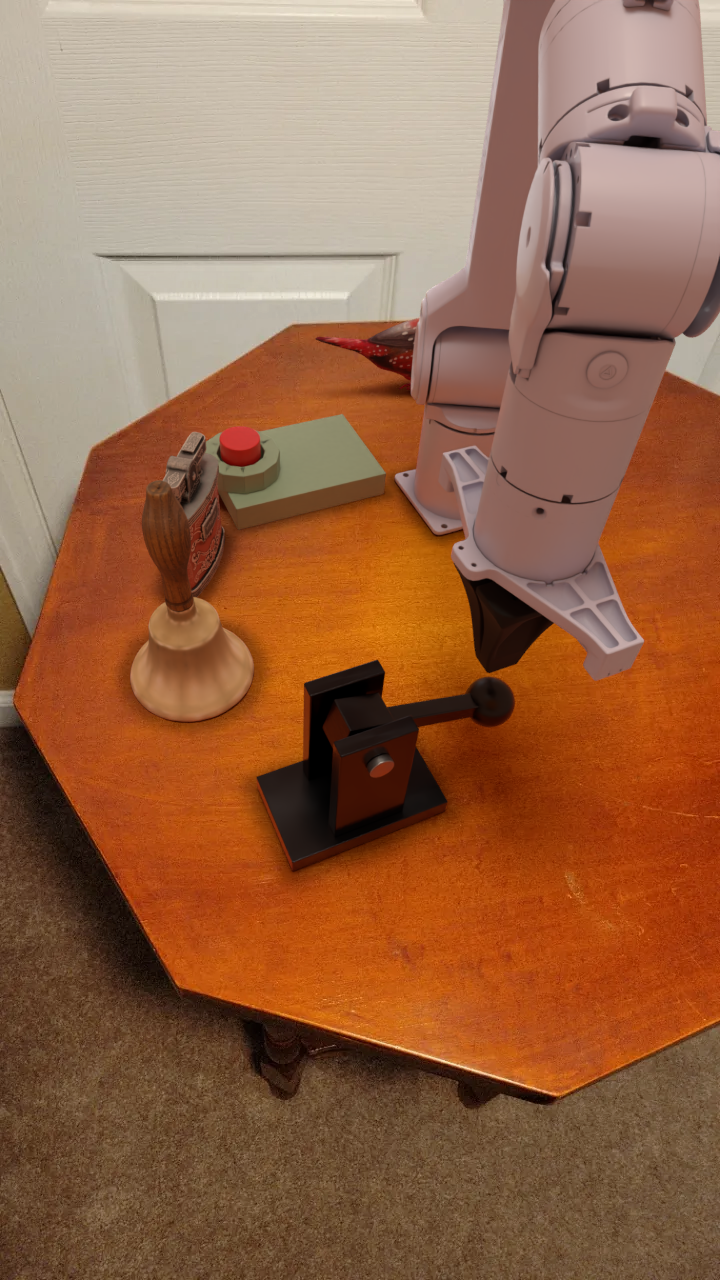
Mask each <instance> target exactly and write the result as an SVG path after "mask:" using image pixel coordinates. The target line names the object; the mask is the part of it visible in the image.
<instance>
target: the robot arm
mask: <svg viewBox="0 0 720 1280" xmlns="http://www.w3.org/2000/svg"><path fill="white" fill-rule="evenodd" d="M699 1H700V0H503V1H502V2H503V7H502V13H501V21H500V26H499V27H500V28H499V34H498V42H497V49H496V53H495V54H496V55H495V62H494V69H493V76H492V83H491V90H490V96H489V103H488V110H487V116H486V123H485V130H484V138H483V143H482V150H481V157H480V164H479V170H478V178H477V186H476V192H475V199H474V204H473V205H474V206H473V212H472V218H471V219H472V220H471V226H470V233H469V240H468V246H467V252H466V259H465V265H464V266H463V267H462V268H461V269H460V270H458V271H457V272H455V273H453V274H452V275H451V276H450V275H449V277H447V278H446V279H444V280H442V281H440V282H438V283H437V284H435V285H433V286H432V287H430V288H429V289H428V290H427V291H426V292H425V296H424V297H423V298H422V299H421V303H420V311H419V317H418V318H419V322H418V323H417V327H416V333H415V340H414V349H413V360H412V372H411V381H410V383H411V386H410V387H411V389H410V396H411V398H413V400H414V401H415V403H416V405H419V406H424V410H423V417H422V424H421V429H420V430H421V431H420V438H419V445H418V452H417V459H416V466H415V468H414V469H410V470H406V471H402V472H398V473H396V474H395V475H394V481H395V483H396V484H397V486H398V487H399V488H400V490H401V491H402V492H403V494H404V495H405V497H406V498H407V499H408V501H409V502H410V503H411V504H412V506H413V507H414V509H415V510H416V512H417V513H418V514H419V516H420V517H421V518H422V520H423V521H424V522H425V524H426V525H427V526H428V528H429V530H430V531H431V532H432V533H433V534H434V535H437V536H443V535H445V534H450V533H452V532H453V533H454V532H457V531H459V530H460V531H461V530H463V534H464V539H462V540H460V541H457V542H455V543H454V544H453V545H452V548H451V554H450V558H451V560H452V562H453V564H454V567H455V569H456V571H457V573H458V575H459V578H460V580H461V582H462V585H463V588H464V591H465V594H466V598H467V601H468V607H469V610H470V611H469V612H470V617H471V618H470V619H471V626H472V638H473V647H474V654H475V658H476V660H478V662H479V663H480V665H481V666H482V667H483V669H484V670H485V672H486V673H487V674H491V673H494V672H497V671H501V670H503V669H506V668H509V667H512V666H515V665H517V664H518V663H519V661H520V660H521V659H522V657H524V655H525V654H526V652H527V651H528V650H529V649H530V648H531V646H532V645H533V644H534V643H535V642H536V641H537V639H538V638H540V636H541V635H542V634H544V633H545V632H546V631H547V630H548V629H549V628H550V627H552V626H553V625H554V624H555V625H556V626H558V627H559V628H560V629H561V630H563V631H565V632H566V633H568V634H569V635H570V636H572V637H573V638H574V639H576V640H577V642H578V643H579V644H580V645H581V647H582V648H583V649H584V651H585V652H586V656H585V658H584V661H583V664H582V666H583V668H584V670H585V672H587V674H588V675H589V676H590V677H591V679H592V680H593V681H596V682H597V681H600V680H602V679H605V678H609V677H612V676H615V675H617V674H620V673H622V672H624V671H628V670H630V669H632V666H633V665H634V663H635V661H636V658H637V657H638V655H639V653H640V651H641V650H642V647H643V645H644V644H645V639H644V638H643V637H642V635H641V634H640V633H639V632H638V630H637V629H636V628H635V626H634V625H633V623H632V622H631V620H630V618H629V617H628V614H627V612H626V610H625V608H624V606H623V602H622V600H621V598H620V595H619V592H618V589H617V587H616V585H615V582H614V579H613V577H612V574H611V571H610V569H609V567H608V564H607V562H606V558H605V556H604V553H603V551H602V548H601V546H600V543H599V542H600V539H601V537H602V535H603V532H604V530H605V527H606V524H607V521H608V519H609V517H610V514H611V511H612V509H613V506H614V504H615V501H616V498H617V496H618V494H619V491H620V488H621V486H622V483H623V482H624V481H623V480H624V478H625V476H626V473H627V470H628V468H629V465H630V462H631V460H632V457H633V455H634V452H635V450H636V448H637V445H638V442H639V439H640V437H641V434H642V432H643V429H644V427H645V424H646V421H647V419H648V416H649V415H650V411H651V409H652V406H653V404H654V400H655V398H656V396H657V393H658V390H659V388H660V385H661V383H662V380H663V378H664V376H665V372H666V370H667V367H668V364H669V362H670V360H671V357H672V355H673V351H674V349H675V346H676V343H677V342H676V338H678V337H679V336H681V335H683V336H685V337H686V338H691V339H692V338H693V339H694V338H697V337H699V336H701V335H703V334H704V333H705V332H706V331H707V330H708V329H709V328H710V327H711V326H712V325H713V323H714V322H715V321H716V319H717V317H718V316H719V314H720V130H717V129H713V127H711V126H710V125H708V115H707V102H706V101H707V100H706V85H705V68H704V54H703V53H704V51H703V40H702V39H703V38H702V22H701V19H702V18H701V8H700V2H699Z"/></svg>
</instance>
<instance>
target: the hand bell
mask: <svg viewBox="0 0 720 1280" xmlns="http://www.w3.org/2000/svg"><path fill="white" fill-rule="evenodd" d="M162 480H163V479H162ZM162 480H160V479H157V480H153V481H151V482H149V483H148V484H147V486H146V488H145V501H144V505H143V510H142V513H141V514H142V515H141V531H142V535H143V537H142V538H143V541H144V543H145V547H146V550H147V553H148V555H149V557H150V558H151V561H152V562H153V564H154V566H155V567H156V568H157V569H158V571H159V573H160V576H161V580H162V588H163V595H164V602H163V603H161V604H160V605H158V606H157V608H155V610H154V611H153V613H152V614H151V616H150V618H149V621H148V627H147V628H148V640H147V641H146V642H145V643H144V644H143V645H142V646H141V648H140V649H139V650H138V652H137V653H136V655H135V657H134V659H133V661H132V664H131V667H130V673H129V674H130V675H129V680H130V687H131V690H132V692H133V695H134V696H135V698H136V700H137V701H138V703H139V704H140V705H141V706H142V707H143V708H144V709H145V710H147V711H148V712H150V713H151V714H153V715H155V716H157V717H159V718H162V719H165V720H168V721H175V722H183V723H186V722H187V723H188V722H189V723H191V722H200V721H204V720H209V719H212V718H216V717H217V716H220V715H222V714H224V713H225V712H228V711H229V710H230V709H232V708H233V707H234V706H236V705H237V704H238V703H240V701H241V700H242V699H243V698H244V697H245V696H246V695H247V693H248V691H249V689H250V688H251V685H252V682H253V679H254V673H255V664H254V658H253V656H252V653H251V650H250V649H249V647H248V646H247V645H246V643H245V642H244V641H243V640H242V639H241V638H240V637H239V636H238V635H236V633H234V632H232V631H230V629H227V628H224V627H223V625H222V622H221V619H220V616H219V613H218V611H217V609H216V608H215V607H214V606H213V605H212V604H211V603H210V602H208V601H207V600H205V599H202V598H199V597H197V598H196V597H193V594H192V590H191V586H190V582H189V578H188V572H187V566H188V562H189V558H190V552H191V534H190V528H189V522H188V519H187V516H186V514H185V512H184V510H183V508H182V506H181V504H180V503H179V501H178V500H177V498H176V497H175V495H174V493H173V491H172V489H171V486H170V485H169V484H168V483H167V482H165V481H162Z"/></svg>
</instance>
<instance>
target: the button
mask: <svg viewBox="0 0 720 1280" xmlns="http://www.w3.org/2000/svg"><path fill="white" fill-rule="evenodd" d="M257 431H258V430H255V429H254V428H252V427H248V426H242V425H237V426H232V427H228V428H226V429H224V430H223V431H221V432H222V433H221V435H220V438H219V441H220V452H221V458H222V460H223V462H224V463H226V464H228V465H230V466H238V467H245V466H249V465H254V464H255V463H257V462H258V461H259V460H260V457H261V445H260V435H259V434H258V432H257Z"/></svg>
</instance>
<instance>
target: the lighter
mask: <svg viewBox="0 0 720 1280" xmlns="http://www.w3.org/2000/svg"><path fill="white" fill-rule="evenodd" d="M206 441H207V439H206V435H205V434H203V433H201V432H197V431H192V432H191V433H190V434H189V435H188V436H187V438H186V439H185V441H184V443H183V445H182V446H181V448H180V450H179V451H178V453H177V455H170V456H169V457H168V459H167V462H166V468H165V474H164V475H165V476H164V478H162V481H165V482H167V483H168V484H169V485H170V486H171V489H172V491H173V493H174V495H175V497H176V498H177V500H178V501H179V503H180V504H181V506H182V508H183V510H184V512H185V514H186V516H187V519H188V522H189V528H190V534H191V552H190V558H189V562H188V566H187V572H188V578H189V582H190V586H191V590H192V594H193V597H196V598H199V597H200V595H201V594H202V593H203V591H205V589H206V587H207V586H208V585H209V584H210V582H211V580H212V579H213V577H214V575H215V573H216V572H217V570H218V568H219V565H220V562H221V559H222V557H223V554H224V548H225V542H226V534H225V529H224V527H223V526H222V519H221V517H222V516H221V509H220V494H219V492H218V484H217V480H218V475H219V465H218V460H217V458H216V457H214V456H213V455H211V454H208V453H205V451H206Z"/></svg>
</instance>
